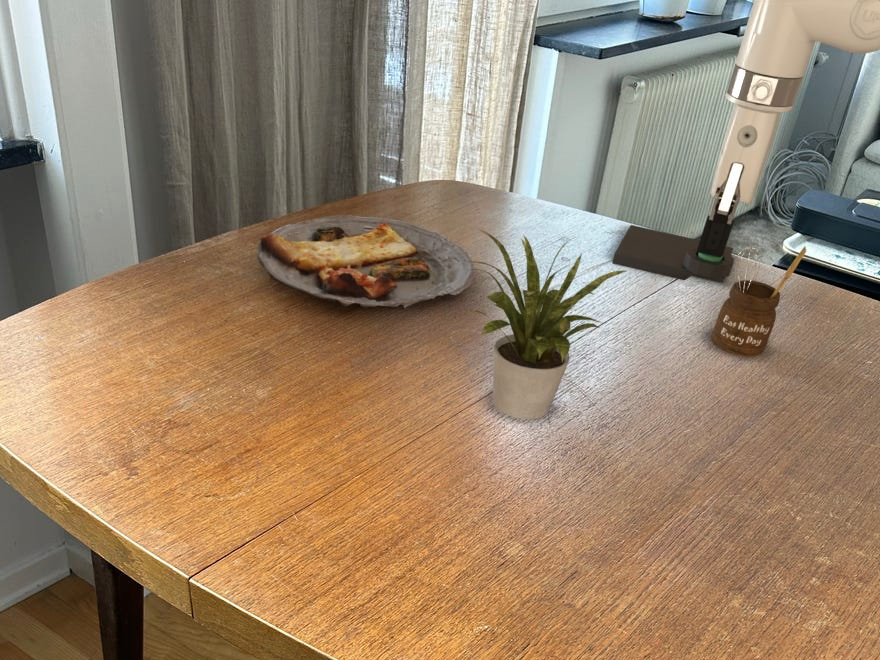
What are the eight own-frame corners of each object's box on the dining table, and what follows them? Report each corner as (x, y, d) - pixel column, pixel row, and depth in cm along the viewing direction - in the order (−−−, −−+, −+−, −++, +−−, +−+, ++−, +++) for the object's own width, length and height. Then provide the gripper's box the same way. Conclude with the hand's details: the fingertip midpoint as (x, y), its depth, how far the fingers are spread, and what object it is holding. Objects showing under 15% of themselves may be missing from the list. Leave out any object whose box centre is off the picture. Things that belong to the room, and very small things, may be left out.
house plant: (403, 406, 90) (423, 229, 79) (483, 360, 98) (511, 195, 87) (530, 466, 84) (571, 285, 73) (603, 411, 93) (650, 243, 82)
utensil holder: (708, 334, 109) (744, 227, 101) (764, 346, 108) (805, 239, 100) (706, 356, 104) (744, 246, 96) (764, 368, 104) (807, 258, 95)
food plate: (311, 332, 99) (313, 299, 97) (225, 248, 113) (224, 217, 111) (506, 302, 110) (512, 272, 107) (405, 228, 124) (408, 200, 121)
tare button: (719, 265, 121) (724, 251, 120) (717, 273, 119) (721, 259, 117) (696, 260, 121) (700, 246, 120) (693, 268, 119) (697, 254, 118)
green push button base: (733, 258, 128) (740, 236, 126) (723, 293, 118) (731, 269, 116) (628, 235, 130) (633, 212, 128) (610, 266, 121) (616, 242, 119)
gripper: (793, 109, 100) (734, 280, 113) (799, 82, 111) (744, 241, 123) (722, 95, 102) (671, 265, 114) (735, 69, 112) (687, 228, 125)
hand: (709, 252), depth 119 cm, fingers closed
